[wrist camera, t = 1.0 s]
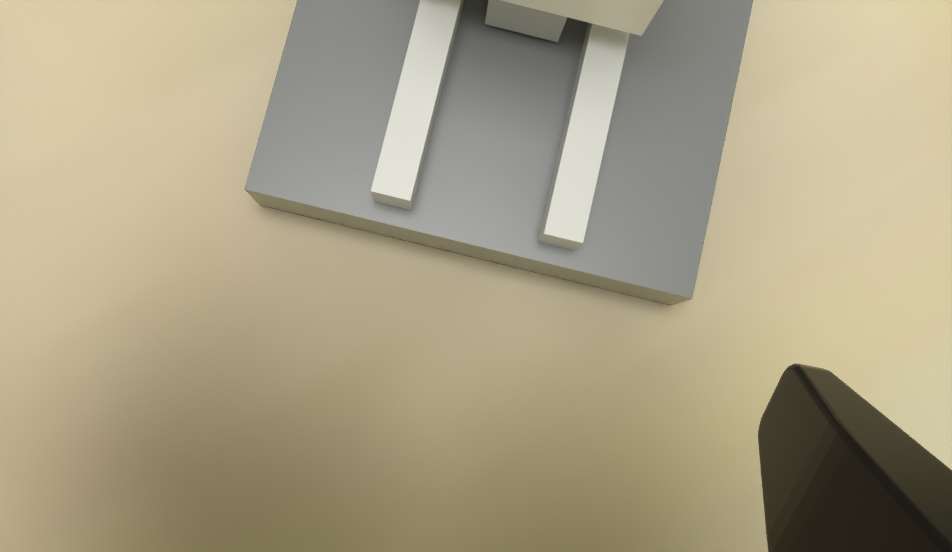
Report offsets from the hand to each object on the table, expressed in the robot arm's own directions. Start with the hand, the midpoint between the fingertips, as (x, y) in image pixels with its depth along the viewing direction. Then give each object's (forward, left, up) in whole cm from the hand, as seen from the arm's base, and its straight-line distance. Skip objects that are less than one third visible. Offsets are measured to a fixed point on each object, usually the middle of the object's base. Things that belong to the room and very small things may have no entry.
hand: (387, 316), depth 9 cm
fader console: (+10, +4, -14) cm, 18 cm away
